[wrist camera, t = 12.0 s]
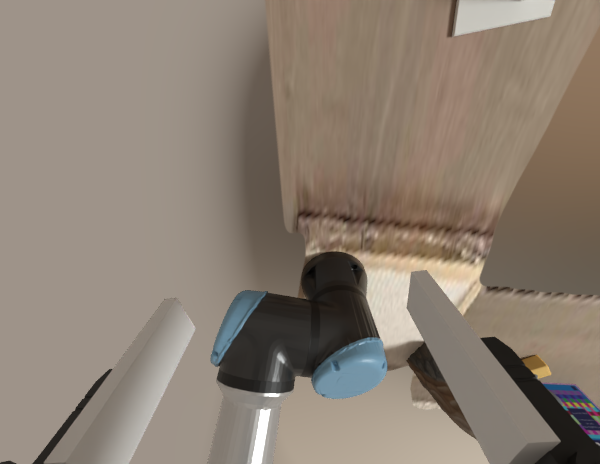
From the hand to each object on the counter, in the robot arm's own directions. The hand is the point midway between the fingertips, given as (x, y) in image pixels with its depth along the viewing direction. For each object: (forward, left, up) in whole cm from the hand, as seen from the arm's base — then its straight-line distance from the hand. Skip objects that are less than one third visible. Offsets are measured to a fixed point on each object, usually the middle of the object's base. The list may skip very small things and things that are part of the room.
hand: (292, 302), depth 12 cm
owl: (-61, -30, -31) cm, 75 cm away
